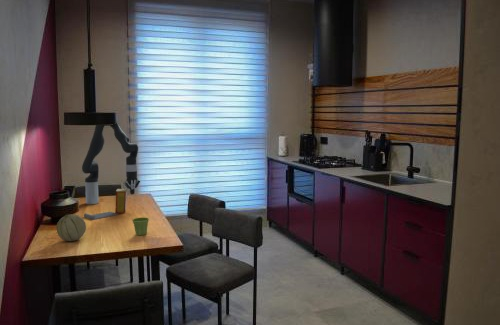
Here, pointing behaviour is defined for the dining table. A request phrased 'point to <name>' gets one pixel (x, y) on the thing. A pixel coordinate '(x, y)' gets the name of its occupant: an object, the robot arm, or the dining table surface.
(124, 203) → the baking soda box
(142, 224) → the plant pot
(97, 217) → the bookend
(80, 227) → the cantaloupe
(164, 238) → the dining table surface
